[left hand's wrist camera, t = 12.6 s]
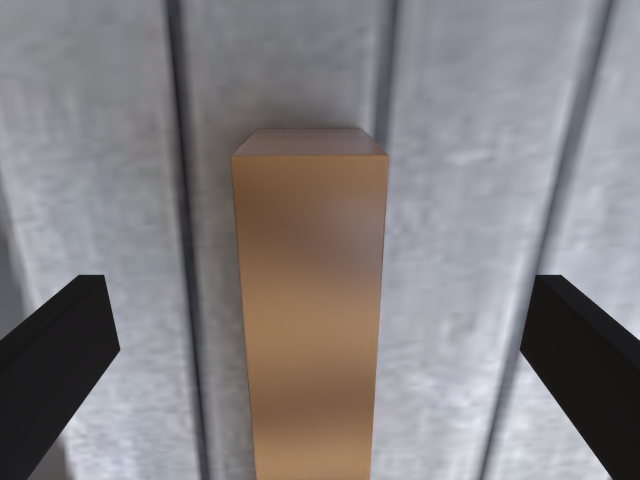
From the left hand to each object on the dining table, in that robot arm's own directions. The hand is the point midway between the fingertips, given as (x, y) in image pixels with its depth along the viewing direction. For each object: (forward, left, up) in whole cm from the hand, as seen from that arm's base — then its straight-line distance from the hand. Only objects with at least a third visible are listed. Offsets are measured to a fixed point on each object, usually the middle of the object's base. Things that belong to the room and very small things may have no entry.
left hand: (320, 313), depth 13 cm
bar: (+19, +13, -12) cm, 26 cm away
